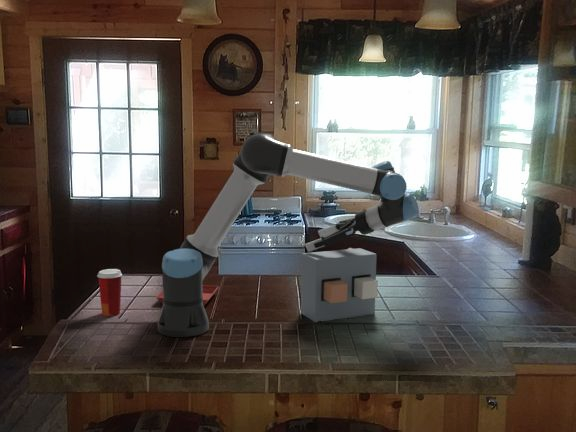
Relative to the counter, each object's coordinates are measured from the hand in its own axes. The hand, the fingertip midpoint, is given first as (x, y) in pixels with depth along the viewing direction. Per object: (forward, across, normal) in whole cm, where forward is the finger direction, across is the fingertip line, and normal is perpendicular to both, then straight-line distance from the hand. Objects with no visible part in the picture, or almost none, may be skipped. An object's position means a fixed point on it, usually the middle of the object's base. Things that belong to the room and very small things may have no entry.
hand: (313, 241), depth 209 cm
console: (0, -7, -24) cm, 25 cm away
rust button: (-6, -15, -17) cm, 23 cm away
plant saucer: (+48, -11, -2) cm, 50 cm away
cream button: (-12, -8, -21) cm, 25 cm away
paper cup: (+60, -35, +7) cm, 70 cm away
